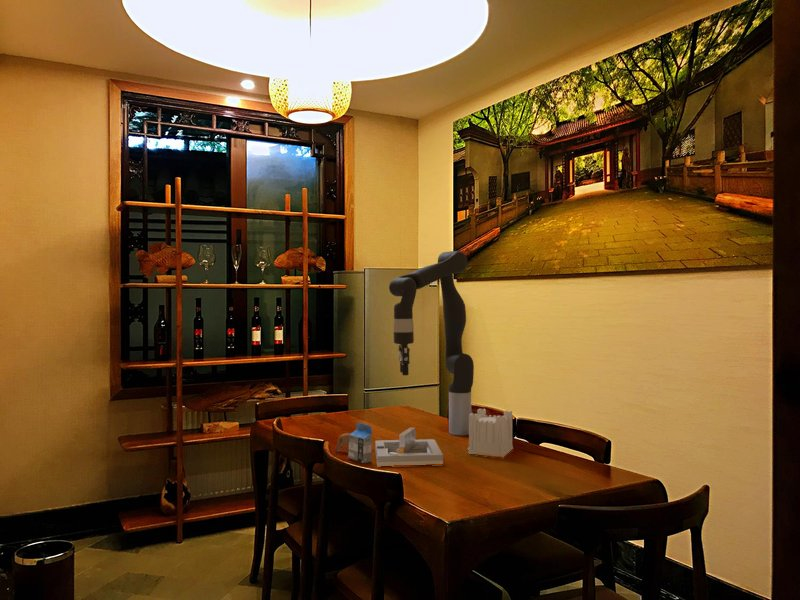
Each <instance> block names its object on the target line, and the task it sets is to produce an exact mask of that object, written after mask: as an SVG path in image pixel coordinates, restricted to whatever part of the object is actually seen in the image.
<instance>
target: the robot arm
mask: <svg viewBox="0 0 800 600" xmlns="http://www.w3.org/2000/svg"><path fill="white" fill-rule="evenodd" d="M467 266H468V258H467V255H466V254H465V253H464V252H462V251H459V250H453V251H444V252H441V253H440V254H439V255H438V257H437V262H436V263H434V264H430V265H427V266H424V267H421V268H418V269H416V270H414V271H413V272H410V273H407V274H403V275H401V276H397V277H395V278H393V279H391V281H390V282H389V286H388V289H389V293H391V295H393V296H394V297H401V299H400V302H397V303H396V304H394V306H393V343H394V344H396V345H398V349H397V351H398V353H397V354H398V361H399V368H400V369H399V371H400V373H402V375H403V376H409V373H410V372H409V365H410V363H411V362H410V347H409V346H408V345H409V344H414V342H415V338H414V336H415V335H414V331H415V330H414V319H413V318H414V317H413V314H414V313H413V307H414V303H415V299H416V295H417V290H421V289H422V288H424V287H426V286H429V285H430V284H432V283H434V282H436V281H439V280H440V281H439V283H440V288H441V296H442V311H443V321H444V335H445V337H444V338H445V359H444V360H445V367H446V370H447V371H448V372H449V373H450V374H452V375H453V379H452V382H451V383H450V384H449V385H448V433H449V435H453V436H469V414H471V413H473V410H472V387H473V384H474V375H475V374H474V371H475V367H474V359H473V358H472V357H471V355H470V354H468V353H463V345H462V340H463V339H462V338H463V334H464V331H465V328H466V324H467V311H466V310H467V309H466V303H465V301H464V299H463V298H462V296H461V295H460V293H459V292H458V290H457V288H456V285H455V281H454V280H455V279H454V274H460V273H462V272H464V271H465V270H466V268H467Z"/></svg>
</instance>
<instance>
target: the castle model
mask: <svg viewBox="0 0 800 600" xmlns="http://www.w3.org/2000/svg"><path fill="white" fill-rule="evenodd" d="M476 411H477V412H476V413H473V412H472V413H471V414H469V435H468V447H467V449H468V450H469V451H468V450H467V452H468V453H469V454H479V455H491V456H502V457H504V456H505V455H506V454H507V453H509V452H510V451H511V450H512V449H513V450H514V446H513V411H512V410H504V411H503V415H494V414H493V416H492V415H491V414H489V415H488V414H487V408H478V409H477V410H476ZM513 450H512V451H513ZM512 451H511V452H512ZM511 452H510V453H511ZM468 453H467V454H468ZM510 453H509V454H510ZM469 454H468V455H469Z"/></svg>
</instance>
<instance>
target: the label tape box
mask: <svg viewBox="0 0 800 600" xmlns="http://www.w3.org/2000/svg"><path fill="white" fill-rule="evenodd" d="M362 427H365V428H367V430H366V429H362ZM372 433H373V432H372V425H368V424H366V423H361V422H358V421H357V422H356V429H355V430H354V431H353V432H351V433H348V434H349V442H348V451H349V453H348V459H350V460H353V461H356V462H358V463H362V464H367V463H370V462H371V463H372V445H373V444H372V443H373V441H372V440H373V439H372V437H373V435H372Z"/></svg>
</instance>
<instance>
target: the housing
mask: <svg viewBox="0 0 800 600" xmlns="http://www.w3.org/2000/svg"><path fill="white" fill-rule="evenodd" d="M395 444H399V439H391V440H390V439H387V440H386V439H385V440H383V439H382V440H375V441H374V446H375V447H374V450H375V451H374V452H375V458H376V459H377V460H376V466H377V468H378V467H379V468H381V466H392V467H395V466H394V465H426V464H443V465H444V454H443V452H442V451H441V449H440V447H439V445H438V443H437V442H436V440H435V439H429V438H427V439H415V444H420V445H424V446H426V447H427V453H394V452H390V453H389V454H388V447H389V446H391V445H395Z"/></svg>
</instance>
